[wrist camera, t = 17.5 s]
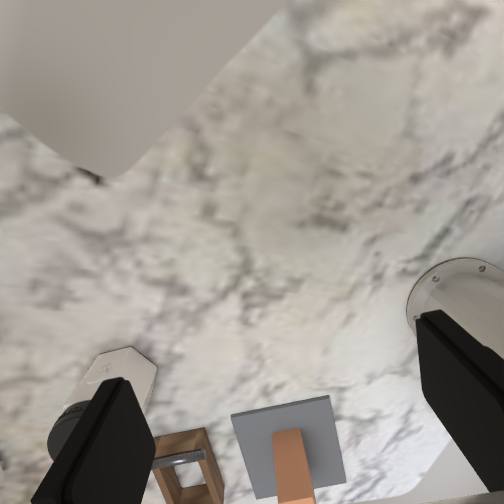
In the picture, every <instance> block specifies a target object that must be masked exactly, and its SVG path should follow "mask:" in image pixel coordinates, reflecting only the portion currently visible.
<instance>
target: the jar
mask: <svg viewBox="0 0 504 504" xmlns="http://www.w3.org/2000/svg"><path fill="white" fill-rule="evenodd" d="M156 372H157V366H155V365H154V364H153V363H151V362H150V361H149V360H148V359H146V358H145V357H144V356H142V355H141V354H140V353H138V352H137V351H136V350H135V349H133V348H132V347H127V348H123V349H119V350H115V351H111V352H107V353H103V354H99V355H98V356H97V358H96V359H95V361H94V362H93V364H92V365H91V367H90V368H89V369H88V371H87V372H86V374H85V375H84V377H83V378H82V380H81V381H80V382H79V384H78V385H77V387H76V388H75V390H74V391H73V393H72V394H71V396H70V397H69V398H68V400H67V401H66V403H65V404H64V406H63V414H62V415H61V416H60V417H59V418H58V420H57V421H56V423H55V424H54V426H53V428H52V430H51V432H50V434H49V436H48V440H47V447H48V452H49V454H50V456H51V458H52V460H53V461H55V459H56V457H57V456H58V454H59V452H60V451H61V449H62V447H63V446H64V444H65V442H66V441H67V439H68V437H69V436H70V434H71V432H72V431H73V429H74V427H75V426H76V424H77V422H78V421H79V419H80V417H81V416H82V414H83V412H84V411H85V409H86V407H87V406H88V404H89V402H90V401H91V399H92V397H93V396H94V394H95V392H96V391H97V389H98V387H99V386H100V384H101V383H102V381H104V380H107V379H112V378H116V377H123V378H124V379H125V380H129V381H130V383H131V385H132V388H133V390H134V392H135V395H136V397H137V400H138V402H139V405H140V407H141V409H142V412H143V414H144V413H145V411H146V408H147V405H148V403H149V400H150V397H151V395H152V391H153V386H154V381H155V377H156Z"/></svg>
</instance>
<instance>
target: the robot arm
mask: <svg viewBox="0 0 504 504" xmlns="http://www.w3.org/2000/svg"><path fill="white" fill-rule="evenodd" d="M407 319H408V323H409V326H410V328H411V330H412V331H413V333H414V334H415V335H416V336H417V344H418V354H419V364H420V374H421V384H422V391H423V394H424V397H425V399H426V401H427V402H428V404H429V405H430V407H431V408H432V409H433V411H434V412H435V414H436V415H437V417H438V418H439V420H440V421H441V423H442V424H443V425H444V427H445V428H446V430H447V431H448V433H449V434H450V436H451V437H452V438H453V440H454V441H455V443H456V444H457V446H458V447H459V449H460V450H461V451H462V453H463V454H464V456H465V457H466V459H467V460H468V462H469V463H470V464H471V466H472V467H473V468H474V470H475V472H476V473H477V475H478V476H479V477H480V479H481V480H482V482H483V483H484V485H485V486H486V487H487V489H488V491H489V492H490V493H484V494H478V495H471V496H465V497H458V498H452V499H445V500H439V501H433V502H427V503H421V504H504V275H503V273H502V272H500V271H499V270H498V269H497V268H496V267H494V266H492V265H490V264H488V263H486V262H483V261H480V260H476V259H470V258H467V259H456V260H452V261H448V262H445V263H443V264H440V265H438V266H437V267H435V268H433V269H432V270H430V271H429V272H428V273H427V274H425V275H424V276H423V277H422V278H421V279H420V281H419V282H418V283H417V284H416V286H415V287H414V289H413V291H412V292H411V295H410V298H409V300H408V305H407ZM155 453H156V445H155V441H154V439H153V436H152V434H151V431H150V429H149V426H148V424H147V422H146V419H145V417H144V414H143V412H142V409H141V407H140V405H139V402H138V400H137V397H136V395H135V392H134V390H133V388H132V385H131V383H130V381H129V380H125V379H124V378H123V377H116V378H112V379H107V380H104V381H102V383H101V384H100V386H99V387H98V389H97V391H96V392H95V394H94V396H93V397H92V399H91V401H90V402H89V404H88V406H87V407H86V409H85V411H84V412H83V414H82V416H81V417H80V419H79V421H78V422H77V424H76V426H75V427H74V429H73V431H72V432H71V434H70V436H69V437H68V439H67V441H66V442H65V444H64V446H63V447H62V449H61V451H60V452H59V454H58V456H57V457H56V459H55V461H54V462H53V464H52V466H51V467H50V469H49V471H48V472H47V474H46V476H45V477H44V479H43V481H42V482H41V484H40V486H39V487H38V489H37V491H36V492H35V494H34V496H33V497H32V499H31V503H32V504H141V502H142V498H143V495H144V491H145V488H146V484H147V481H148V478H149V474H150V471H151V467H152V464H153V460H154V457H155Z"/></svg>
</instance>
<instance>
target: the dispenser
mask: <svg viewBox="0 0 504 504" xmlns="http://www.w3.org/2000/svg"><path fill="white" fill-rule="evenodd" d="M154 441H155V445H156V453H155V457H154V460H153V464H152V467H151V470H152V471H153V473H154V475H155V478H156V480H157V482H158V485H159V487H160V489H161V492H162V494H163V496H164V499H165V501H166V503H167V504H223V502H224V483H223V480H222V477H221V474H220V471H219V468H218V466H217V463H216V460H215V457H214V454H213V451H212V448H211V445H210V443H209V440H208V437H207V434H206V431H205V428H200V429H195V430H190V431H185V432H180V433H175V434H170V435H165V436H160V437H155V438H154ZM195 461H198V462H199V465H200V467H201V470H202V473H203V475H204V478H205V481H206V484H204V485H199V486H193V487H188V488H183V489H182V488H181V485H180V483H179V481H178V478H177V476H176V473H175V471H174V468H173V466H175V465H180V464H185V463H190V462H195Z"/></svg>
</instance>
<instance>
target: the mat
mask: <svg viewBox="0 0 504 504" xmlns="http://www.w3.org/2000/svg"><path fill="white" fill-rule="evenodd" d="M231 421H232V424H233V427H234V430H235V433H236V436H237V440H238V443H239V446H240V449H241V452H242V455H243V459H244V462H245V465H246V468H247V471H248V474H249V478H250V481H251V484H252V487H253V490H254V493H255V497H256V500H257V499H262V498H267V497H273V496H277V485H276V473H275V462H274V450H273V439H272V433H276V432H281V431H286V430H291V429H296V428H300V431H301V436H302V440H303V444H304V448H305V452H306V456H307V460H308V464H309V468H310V473H311V479H312V484H313V489H316V488H321V487H326V486H332V485H337V484H343V483H347V482H346V477H345V472H344V467H343V462H342V457H341V453H340V448H339V443H338V438H337V433H336V428H335V423H334V418H333V413H332V408H331V403H330V398H329V395H328V396H323V397H318V398H313V399H308V400H303V401H298V402H293V403H288V404H283V405H278V406H273V407H268V408H263V409H258V410H253V411H248V412H243V413H238V414H233V415H231Z"/></svg>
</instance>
